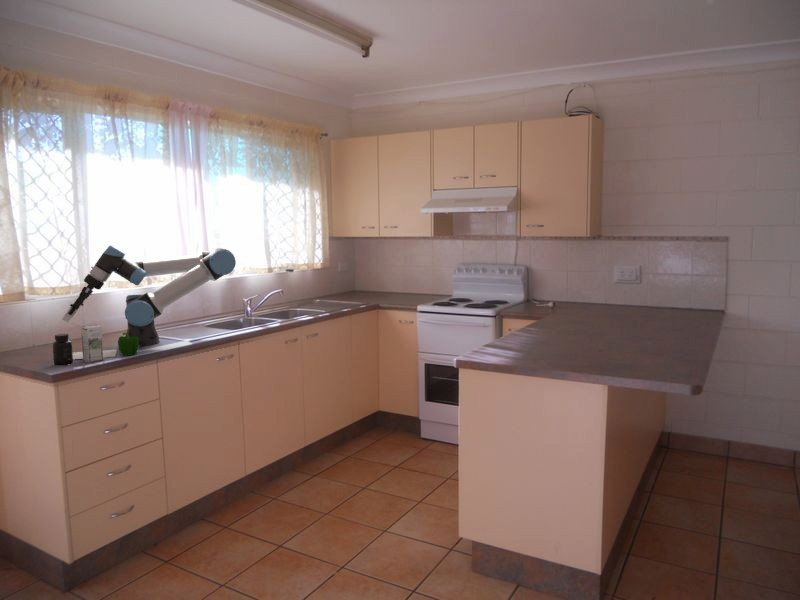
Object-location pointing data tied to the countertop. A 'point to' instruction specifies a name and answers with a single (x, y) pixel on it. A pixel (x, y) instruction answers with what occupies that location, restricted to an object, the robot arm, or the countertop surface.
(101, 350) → the syrup box
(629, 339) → the countertop surface
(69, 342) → the supplement bottle
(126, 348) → the bell pepper
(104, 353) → the mat
